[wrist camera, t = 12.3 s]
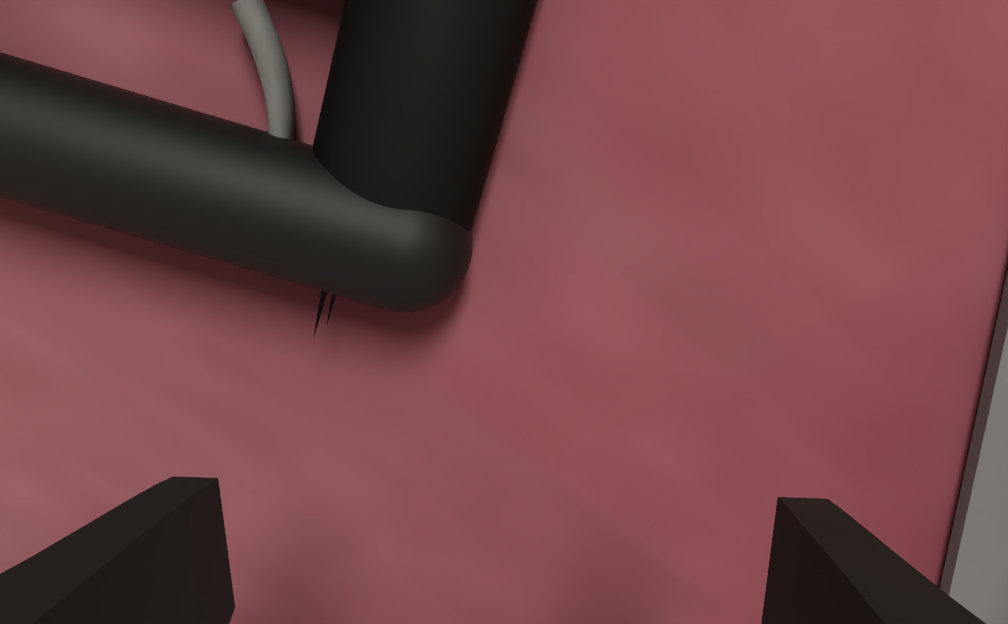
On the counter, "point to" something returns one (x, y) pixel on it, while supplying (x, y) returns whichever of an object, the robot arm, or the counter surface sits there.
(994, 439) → the mat
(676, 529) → the counter surface
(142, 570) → the robot arm
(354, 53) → the door handle
